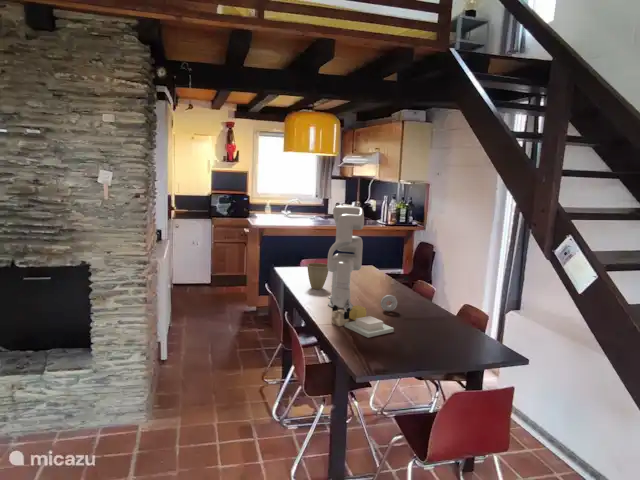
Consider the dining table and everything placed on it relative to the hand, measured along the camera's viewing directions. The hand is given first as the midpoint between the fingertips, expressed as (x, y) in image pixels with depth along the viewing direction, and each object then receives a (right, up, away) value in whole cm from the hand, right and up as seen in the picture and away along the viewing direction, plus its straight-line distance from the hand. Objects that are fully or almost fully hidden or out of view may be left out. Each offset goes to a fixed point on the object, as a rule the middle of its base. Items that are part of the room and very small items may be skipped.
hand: (340, 316), depth 257 cm
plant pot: (-13, +8, +71) cm, 72 cm away
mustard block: (+10, -3, +11) cm, 15 cm away
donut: (+29, -2, +28) cm, 41 cm away
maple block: (0, -4, +1) cm, 4 cm away
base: (+15, -6, -5) cm, 16 cm away
